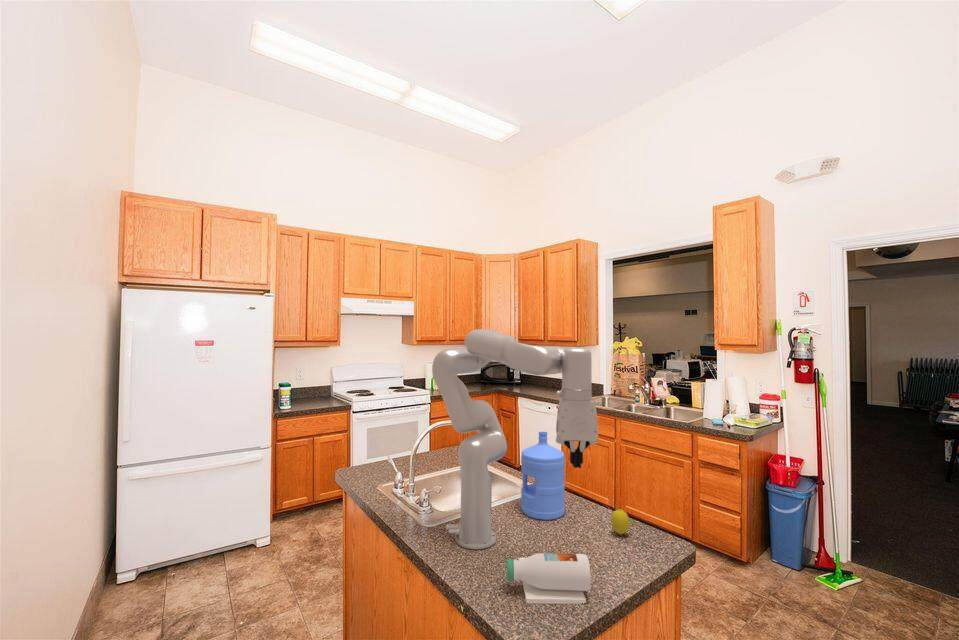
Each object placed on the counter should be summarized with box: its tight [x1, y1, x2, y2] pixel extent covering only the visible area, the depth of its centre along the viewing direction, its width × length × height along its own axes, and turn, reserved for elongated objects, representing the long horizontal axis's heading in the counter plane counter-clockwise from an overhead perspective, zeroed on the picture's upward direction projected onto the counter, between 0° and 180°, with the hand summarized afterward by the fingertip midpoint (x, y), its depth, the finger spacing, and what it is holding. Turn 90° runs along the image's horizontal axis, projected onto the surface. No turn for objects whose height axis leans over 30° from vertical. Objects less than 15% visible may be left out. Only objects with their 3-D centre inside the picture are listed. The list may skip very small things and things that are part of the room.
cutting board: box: [518, 557, 587, 605], centre depth 104 cm, size 14×18×1 cm
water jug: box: [520, 431, 566, 521], centre depth 147 cm, size 16×16×28 cm
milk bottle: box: [506, 552, 592, 592], centre depth 100 cm, size 8×8×20 cm
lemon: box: [610, 508, 630, 536], centre depth 130 cm, size 6×6×8 cm
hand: (576, 466), depth 106 cm, fingers closed
